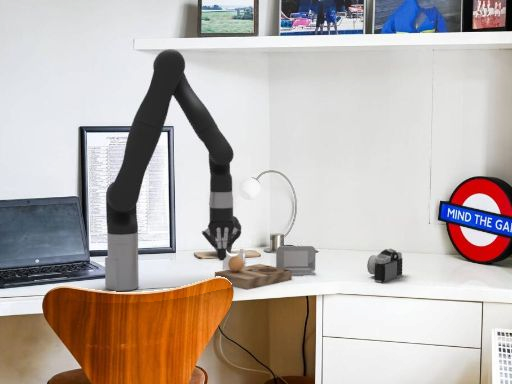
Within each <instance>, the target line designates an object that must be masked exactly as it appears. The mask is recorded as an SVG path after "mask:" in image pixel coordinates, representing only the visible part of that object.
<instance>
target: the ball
mask: <svg viewBox="0 0 512 384" xmlns="http://www.w3.org/2000/svg"><path fill="white" fill-rule="evenodd" d="M228 266H229V268H230V270H232V271H234V272H238V271H240V270H241V269H242V268H243V267H245V263H244V262H243V260H242V259H241V258H240V257H238V256H234V257H232V258H230V260H229V262H228Z"/></svg>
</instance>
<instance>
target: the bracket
mask: <svg viewBox="0 0 512 384" xmlns="http://www.w3.org/2000/svg"><path fill="white" fill-rule="evenodd" d="M234 256H238V257H240V258H241V259H242V260H243V262H244V264H245V263H246V253H244V247H240V249H239V252H238V253H233V252H231V253H228V252H227V250H226V258H224V260H223V261H222V270H229V269H230V268H229V266H228V262H229V260H230V258H232V257H234Z"/></svg>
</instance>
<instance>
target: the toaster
mask: <svg viewBox="0 0 512 384" xmlns="http://www.w3.org/2000/svg"><path fill="white" fill-rule="evenodd" d="M275 254H276V255H275V267H277V268H282V269H287V270H292V277H296V276H301V277H302V276H303V277H304V276H316V257H317V255H316V248H315V247H314V246H312V245H280V246H278V247H277V248H276V251H275Z"/></svg>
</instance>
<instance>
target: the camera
mask: <svg viewBox="0 0 512 384" xmlns="http://www.w3.org/2000/svg"><path fill="white" fill-rule="evenodd" d="M366 264H367V265H366V266H367V272H368V273H369V275H374V282H375V283H380V284H381V283H387V282H389V281H392V280H396V279H397V278H398V279H399V278H401V277H403V253H402V252H398V251H397V250H396V249H393V248H389V249H388V248H385V249H383V250H382V251H380V252H379V253H378V254H377V255H375V254H372V255H371V256H369V258H368V261H367V263H366Z"/></svg>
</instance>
